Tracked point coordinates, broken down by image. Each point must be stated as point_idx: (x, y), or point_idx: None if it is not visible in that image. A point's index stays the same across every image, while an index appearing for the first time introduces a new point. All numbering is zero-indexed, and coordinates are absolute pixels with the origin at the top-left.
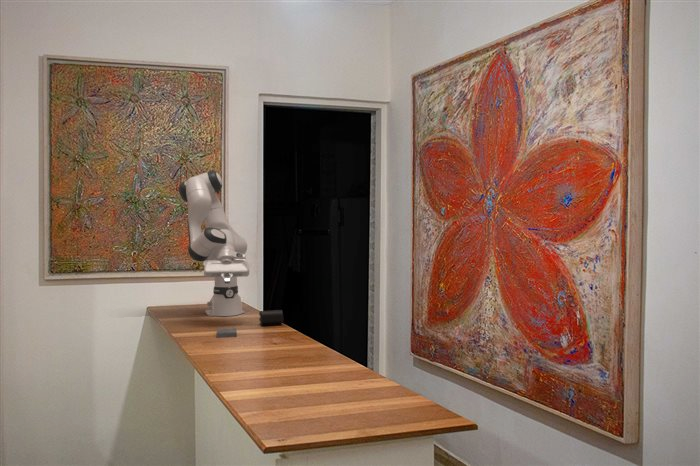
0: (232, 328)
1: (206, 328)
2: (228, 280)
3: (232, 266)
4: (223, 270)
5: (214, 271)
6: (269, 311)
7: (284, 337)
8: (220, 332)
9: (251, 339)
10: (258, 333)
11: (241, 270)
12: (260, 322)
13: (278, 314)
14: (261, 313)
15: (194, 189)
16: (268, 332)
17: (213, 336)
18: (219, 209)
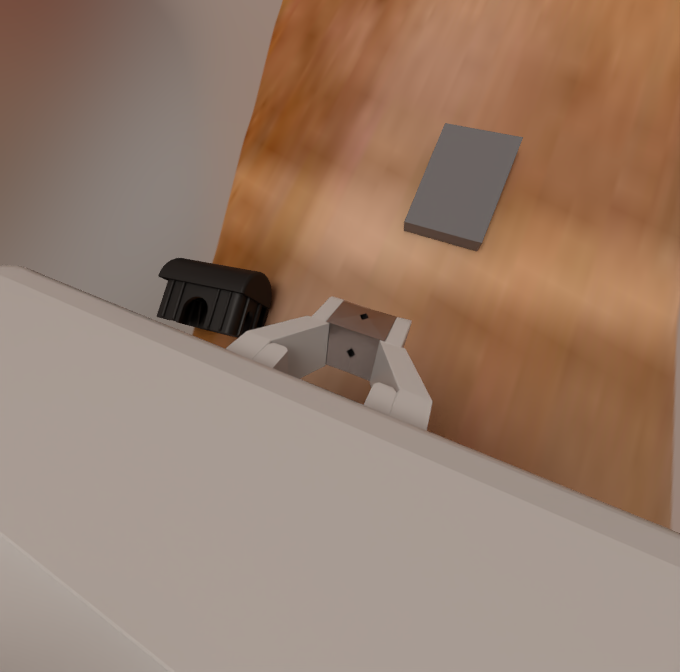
0: (423, 215)
1: (482, 384)
2: (352, 304)
3: (31, 461)
4: (364, 443)
5: (640, 534)
6: (211, 275)
7: (315, 68)
8: (502, 148)
9: (417, 75)
10: (349, 166)
11: (50, 297)
12: (267, 302)
13: (193, 260)
14: (250, 275)
15: None
16: (313, 168)
17: (519, 182)
18: None
